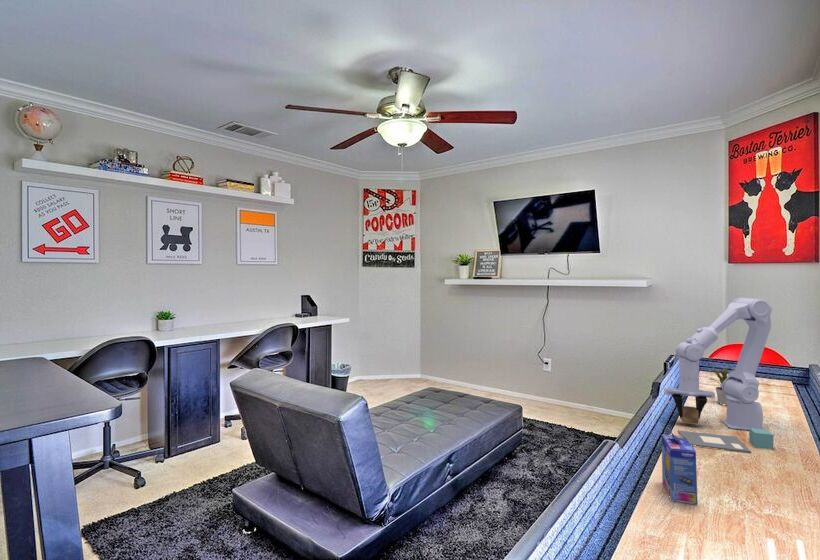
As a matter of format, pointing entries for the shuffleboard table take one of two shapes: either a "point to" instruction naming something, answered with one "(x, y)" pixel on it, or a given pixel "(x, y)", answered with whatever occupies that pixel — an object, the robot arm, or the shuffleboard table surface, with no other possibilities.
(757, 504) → the shuffleboard table surface
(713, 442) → the board
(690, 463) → the ink cartridge box
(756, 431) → the teal block
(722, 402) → the house plant
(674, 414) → the shuffleboard table surface
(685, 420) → the walnut block
